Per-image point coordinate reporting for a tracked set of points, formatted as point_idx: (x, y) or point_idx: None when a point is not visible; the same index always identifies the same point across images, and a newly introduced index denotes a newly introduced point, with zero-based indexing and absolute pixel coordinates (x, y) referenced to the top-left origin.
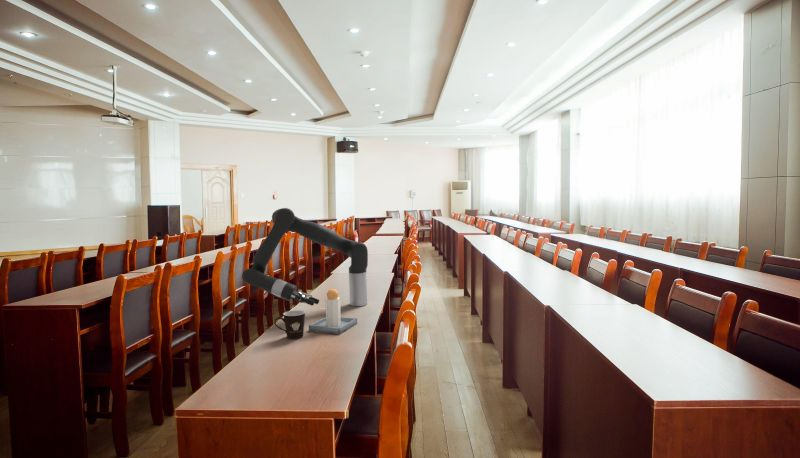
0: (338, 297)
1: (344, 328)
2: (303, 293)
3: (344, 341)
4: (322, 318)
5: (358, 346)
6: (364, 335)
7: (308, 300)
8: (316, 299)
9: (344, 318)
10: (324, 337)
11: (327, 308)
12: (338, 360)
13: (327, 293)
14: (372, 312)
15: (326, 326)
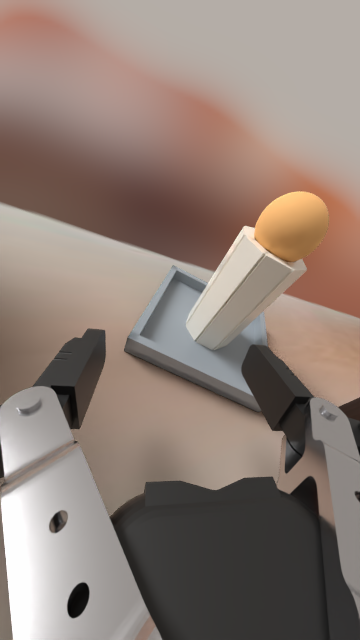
0: (254, 229)
1: None
2: (136, 595)
3: (283, 317)
4: (176, 359)
5: (291, 301)
6: None
7: (300, 383)
8: (97, 346)
9: (164, 291)
10: (283, 354)
11: (272, 301)
12: (346, 330)
13: (323, 237)
14: (42, 221)
15: (225, 348)
